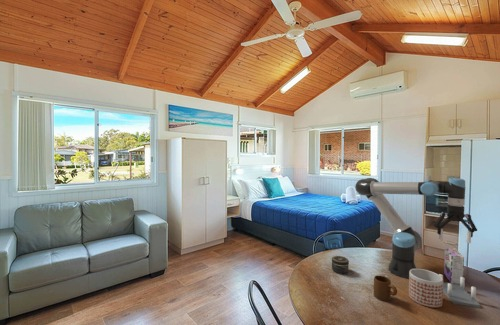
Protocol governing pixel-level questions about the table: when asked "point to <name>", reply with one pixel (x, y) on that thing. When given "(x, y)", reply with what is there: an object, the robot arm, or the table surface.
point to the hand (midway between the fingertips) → (454, 241)
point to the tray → (460, 293)
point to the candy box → (453, 265)
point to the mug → (383, 288)
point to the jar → (340, 264)
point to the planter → (426, 288)
